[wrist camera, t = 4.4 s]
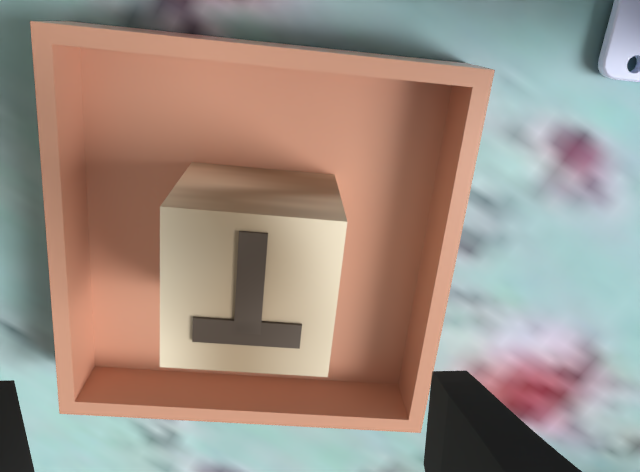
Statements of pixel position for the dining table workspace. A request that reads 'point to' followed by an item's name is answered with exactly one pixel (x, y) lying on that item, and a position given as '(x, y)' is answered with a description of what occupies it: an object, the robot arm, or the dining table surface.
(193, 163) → the letter cube
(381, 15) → the dining table surface
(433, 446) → the robot arm
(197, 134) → the terracotta tray
